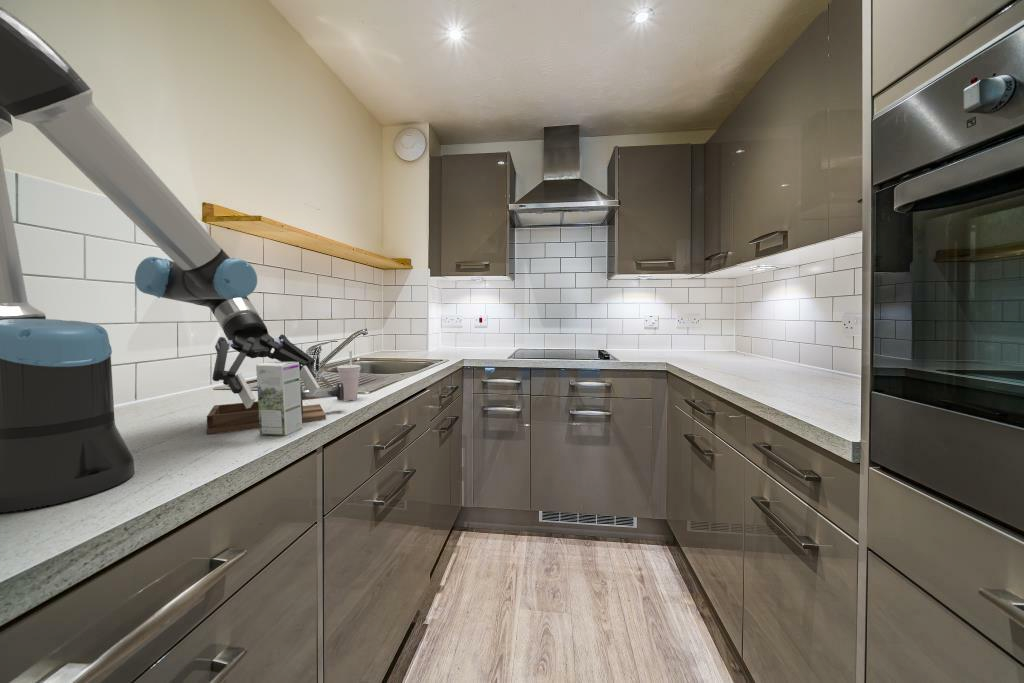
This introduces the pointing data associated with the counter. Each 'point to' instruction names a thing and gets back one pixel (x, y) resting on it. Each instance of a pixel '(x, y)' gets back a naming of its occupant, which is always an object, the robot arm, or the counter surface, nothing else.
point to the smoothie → (349, 379)
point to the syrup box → (279, 398)
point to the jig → (250, 416)
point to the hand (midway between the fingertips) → (285, 397)
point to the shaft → (325, 393)
